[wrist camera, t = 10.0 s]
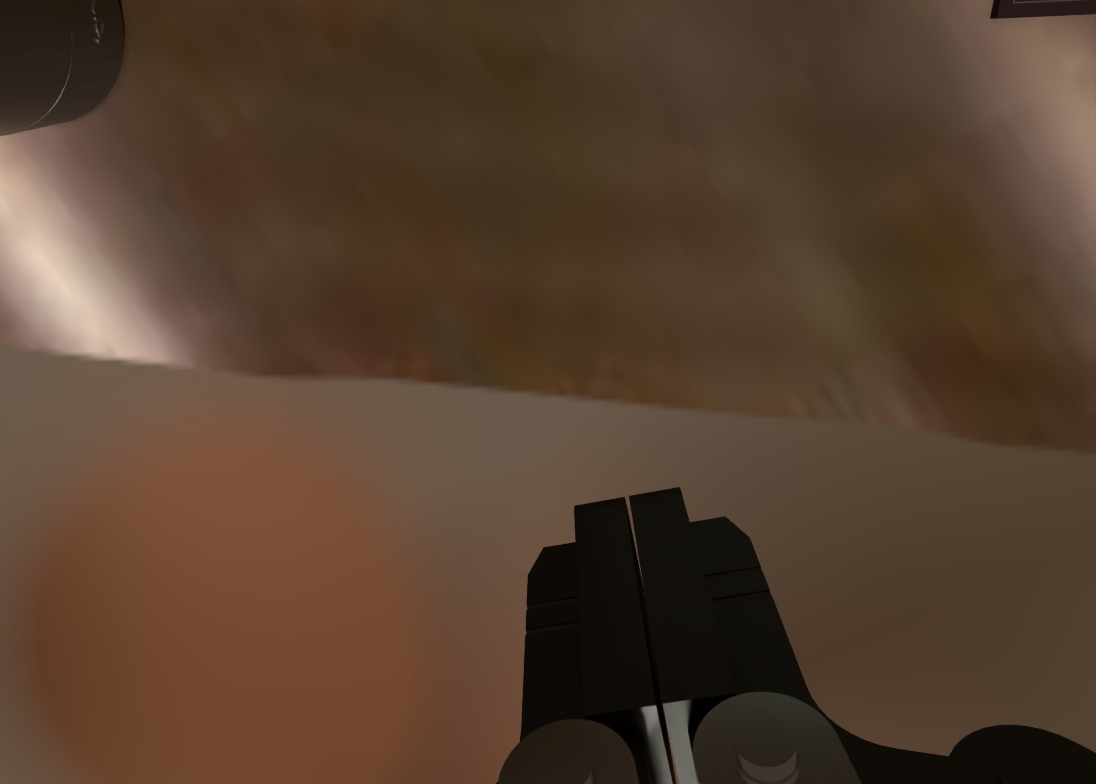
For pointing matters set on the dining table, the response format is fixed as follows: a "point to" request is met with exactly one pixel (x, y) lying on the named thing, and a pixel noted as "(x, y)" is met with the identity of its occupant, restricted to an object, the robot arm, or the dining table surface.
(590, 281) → the dining table surface
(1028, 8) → the chocolate bar
